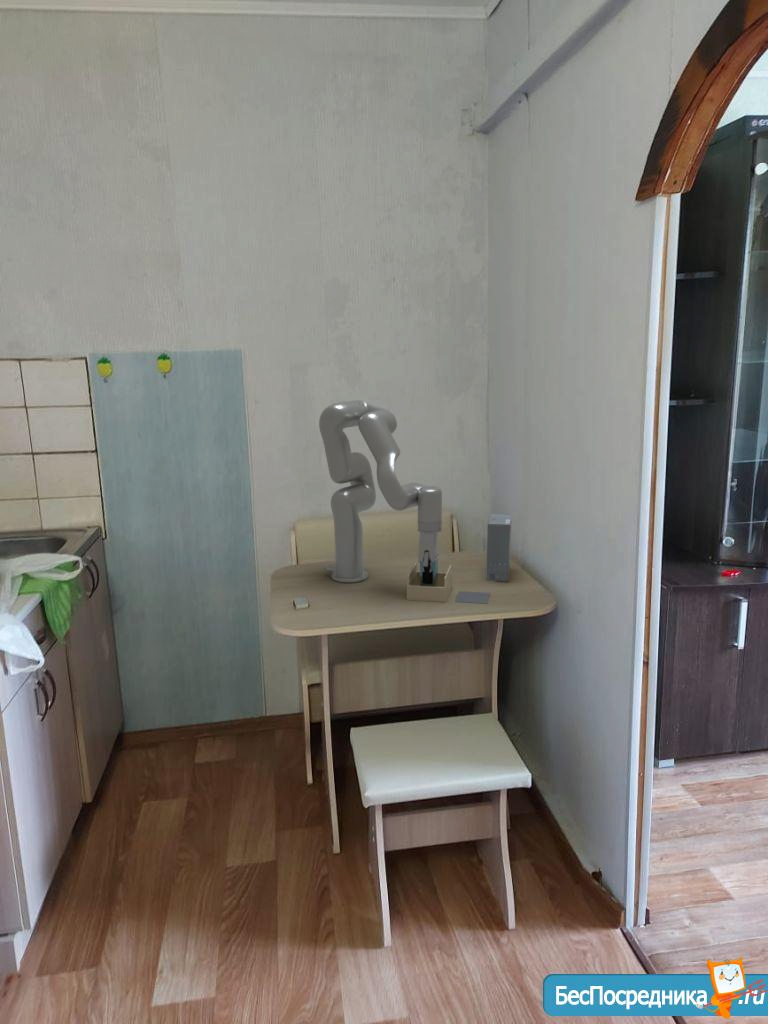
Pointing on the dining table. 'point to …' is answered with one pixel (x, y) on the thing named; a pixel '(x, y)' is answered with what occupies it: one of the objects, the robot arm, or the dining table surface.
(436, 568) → the tin
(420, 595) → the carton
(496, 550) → the hard drive box
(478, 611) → the dining table surface
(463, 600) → the mat
